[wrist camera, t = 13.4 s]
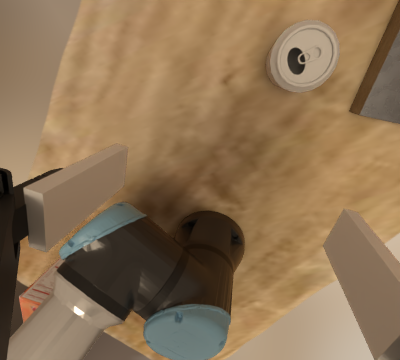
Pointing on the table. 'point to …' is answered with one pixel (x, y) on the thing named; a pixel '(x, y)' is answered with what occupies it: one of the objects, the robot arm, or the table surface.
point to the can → (303, 56)
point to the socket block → (382, 78)
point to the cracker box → (38, 291)
